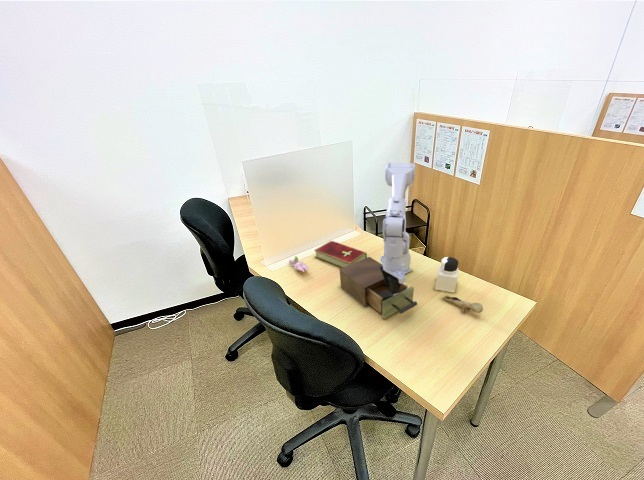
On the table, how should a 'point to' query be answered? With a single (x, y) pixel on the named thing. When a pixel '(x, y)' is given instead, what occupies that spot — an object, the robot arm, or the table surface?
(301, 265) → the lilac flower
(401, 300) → the drawer
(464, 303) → the figurine
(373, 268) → the cabinet
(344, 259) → the hardcover book
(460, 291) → the table surface
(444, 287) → the ball on square pedestal
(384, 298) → the black block with tip
